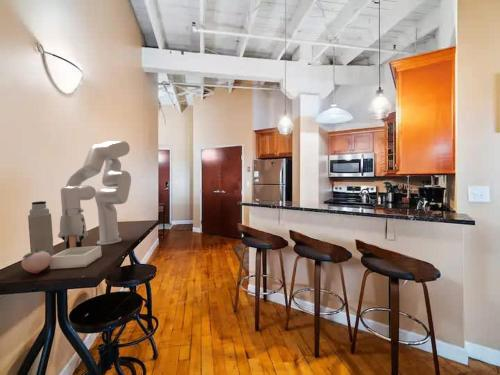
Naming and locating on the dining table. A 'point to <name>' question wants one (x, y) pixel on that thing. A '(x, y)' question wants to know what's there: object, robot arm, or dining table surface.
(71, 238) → the peg
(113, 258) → the dining table surface
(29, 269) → the decorative fruit
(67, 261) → the tub
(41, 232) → the thermos bottle
